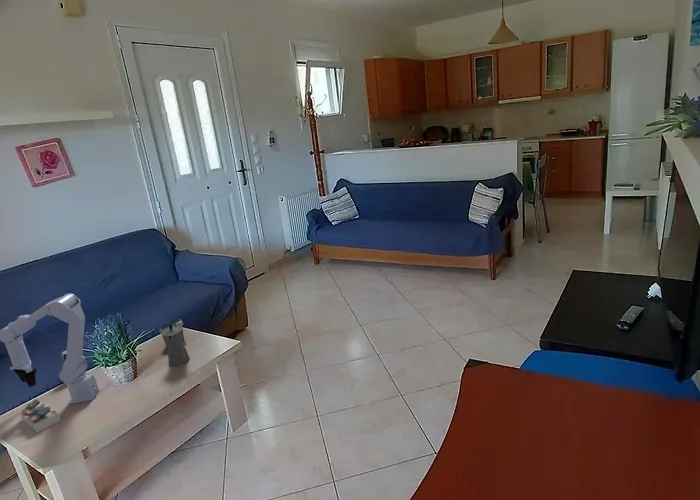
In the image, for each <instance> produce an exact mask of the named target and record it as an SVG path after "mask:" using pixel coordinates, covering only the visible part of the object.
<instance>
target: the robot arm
mask: <svg viewBox="0 0 700 500" xmlns="http://www.w3.org/2000/svg"><path fill="white" fill-rule="evenodd" d="M81 301H82V300H81V299H80V298H78V297H77V295H75V294H73V293H65V294H64V295H63V296H60V297H57V298H55V299H53V300H52V301H50V302H47V303H46V304H45V305H43V306H42V307H40V308H39V309H37V310H36V311H34V312H32V313H31V314H23V315H22V314H21V315H20V316H18V317H16V320H15V321H11V322H9V323H8V324H7V326H6V327H4V328H1V329H0V342H1V343H4V345H5V348H6V351H7V354H8V356H9V358H10V361H11V364H12V366H10V367H9V369H10V370H11V371H13V372H15V374H16V375H17V377H18V378H19V379H20V381H21V382H22V383H26V384H27V386H28V387H29V388H32V387H34V386H36V385H37V382H36V375H37V367H32V360H31V359H30V356H29V353H28V350H27V348H26V345H25V342H24V335H23V334H26V332H28V331H30V330H31V329H33V328H35V326H36V324H37V322H38V321H39V320H41V319H42V318H44V317H45V316H49V317H52V316H53V317H55V318H57V319H59V320H60V321H62V322H64V323H68V330H67V344H66V350H67V356H66V360H65V362H64V361H63V362H64V363H63V365H62V367H61V368H62V369H61V370H60V372H59V373H58V374H59V375H58V376H59V380H60V381H62V382H63V383H65V384H66V386H67V389H68V392H69V395H70V400H69V401H68V403H67V405H73V404H79V403H84V402H90V401H93V400H94V398H95V397H96V395H97V394H98V392H99V391H100V388H99V387H98V384H97V380H96V378H95V376H94V375H89V374H87V369H88V364H87V361H86V356H84V355H83V351H84V339H85V338H84V337H85V325H86V324H85V323H86V315H85V314H84V311H83V309H82V306H81V303H82V302H81Z"/></svg>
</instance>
